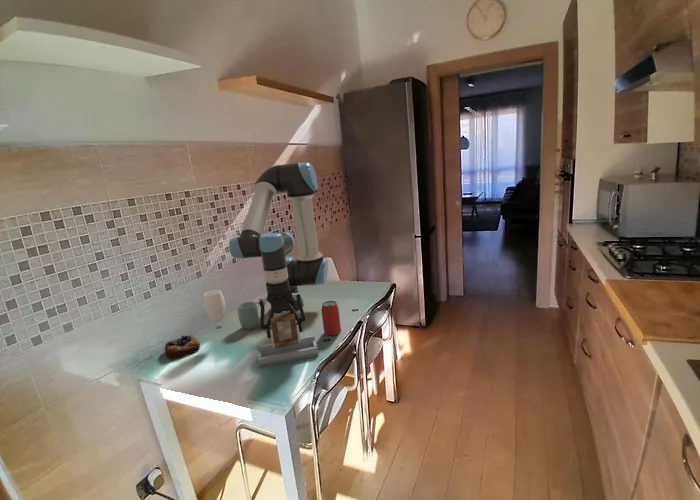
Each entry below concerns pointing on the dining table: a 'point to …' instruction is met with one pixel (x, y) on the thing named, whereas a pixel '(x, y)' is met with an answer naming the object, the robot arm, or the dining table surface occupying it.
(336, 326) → the beer can
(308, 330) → the dining table surface
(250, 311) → the cup
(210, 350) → the dining table surface
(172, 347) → the pastry
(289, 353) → the grey trough
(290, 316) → the frame
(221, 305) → the cup
